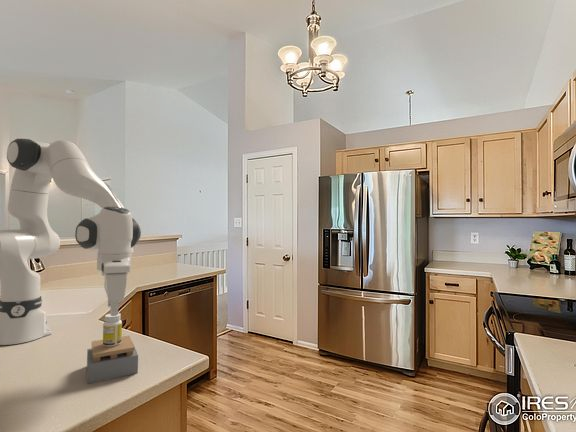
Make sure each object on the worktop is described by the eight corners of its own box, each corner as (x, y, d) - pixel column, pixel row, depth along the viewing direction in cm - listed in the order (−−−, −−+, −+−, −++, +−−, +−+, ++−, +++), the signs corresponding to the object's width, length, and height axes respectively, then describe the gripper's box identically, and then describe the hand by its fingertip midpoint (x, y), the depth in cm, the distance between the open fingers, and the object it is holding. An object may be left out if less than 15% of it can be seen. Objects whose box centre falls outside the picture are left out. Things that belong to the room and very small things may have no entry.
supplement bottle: (117, 340, 97) (118, 311, 97) (124, 344, 94) (125, 314, 94) (100, 344, 93) (100, 314, 94) (106, 348, 90) (107, 318, 91)
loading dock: (86, 366, 95) (87, 341, 95) (131, 357, 102) (132, 334, 102) (87, 383, 85) (88, 356, 85) (137, 373, 92) (138, 347, 92)
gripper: (100, 259, 101) (98, 303, 101) (104, 268, 84) (101, 322, 84) (122, 258, 105) (121, 301, 104) (131, 267, 87) (129, 318, 87)
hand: (112, 310), depth 94 cm, fingers open, 8 cm apart
